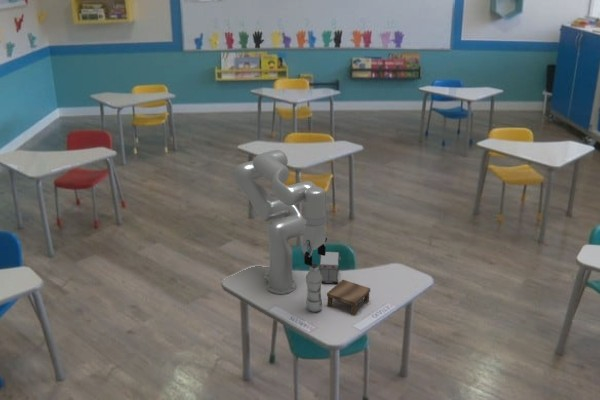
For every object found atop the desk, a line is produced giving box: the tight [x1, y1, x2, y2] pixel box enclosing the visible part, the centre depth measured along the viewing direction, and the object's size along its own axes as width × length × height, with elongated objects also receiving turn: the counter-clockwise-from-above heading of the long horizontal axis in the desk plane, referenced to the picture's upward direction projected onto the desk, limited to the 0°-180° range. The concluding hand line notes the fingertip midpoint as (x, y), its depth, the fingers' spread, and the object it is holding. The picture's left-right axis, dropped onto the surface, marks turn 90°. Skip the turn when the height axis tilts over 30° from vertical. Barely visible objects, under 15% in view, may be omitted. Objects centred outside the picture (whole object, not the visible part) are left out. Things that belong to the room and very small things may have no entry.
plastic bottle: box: [305, 263, 323, 313], centre depth 227 cm, size 6×7×20 cm
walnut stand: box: [326, 279, 371, 316], centre depth 234 cm, size 13×13×6 cm
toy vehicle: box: [319, 251, 341, 284], centre depth 254 cm, size 10×17×10 cm, turn 175°
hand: (315, 259), depth 222 cm, fingers open, 9 cm apart
